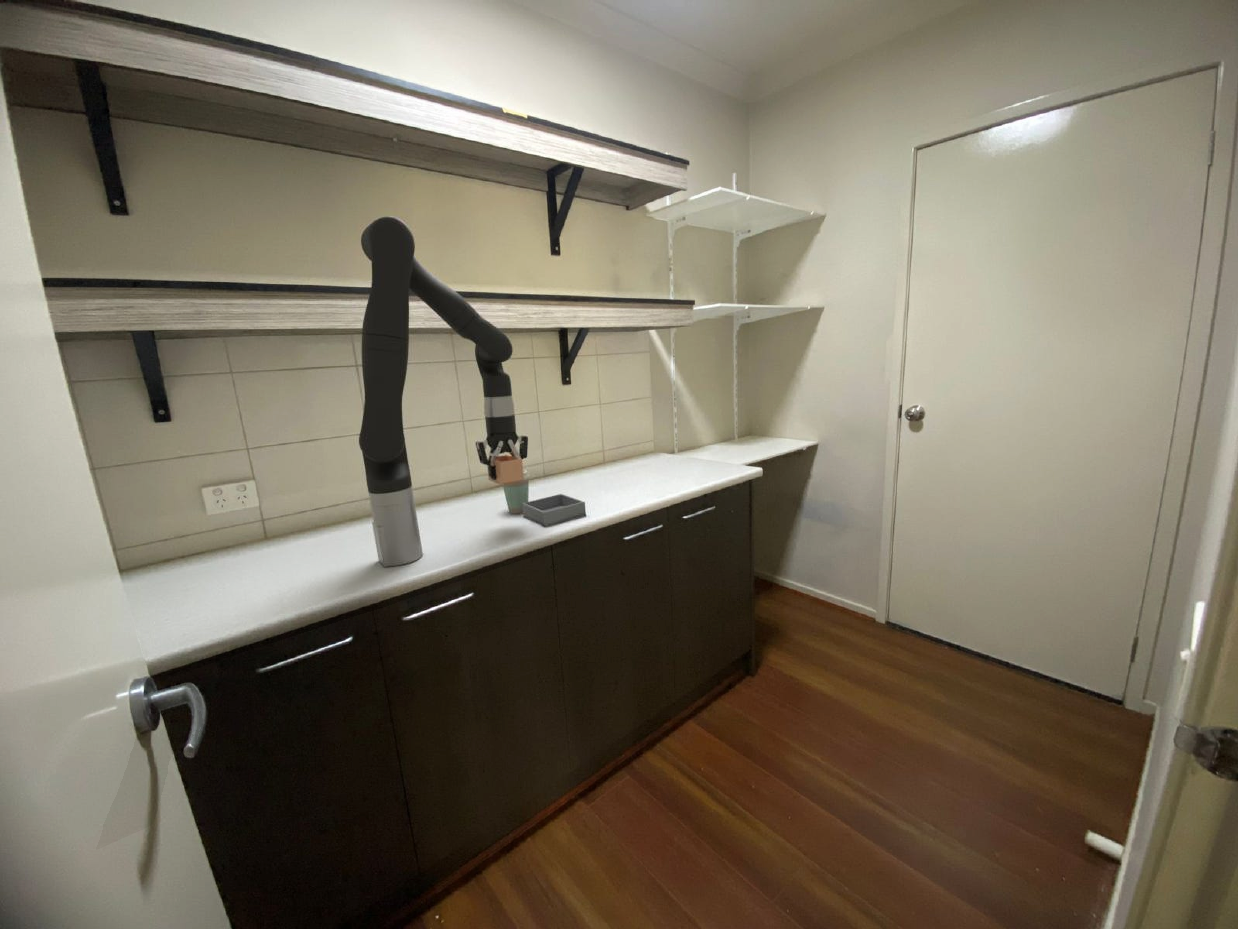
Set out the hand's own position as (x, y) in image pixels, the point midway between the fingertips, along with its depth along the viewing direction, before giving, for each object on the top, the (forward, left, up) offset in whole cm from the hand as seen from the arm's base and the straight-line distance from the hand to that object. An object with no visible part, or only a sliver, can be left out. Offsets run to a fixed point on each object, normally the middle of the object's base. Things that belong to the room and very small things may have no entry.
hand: (505, 477), depth 130 cm
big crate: (+14, +1, -14) cm, 20 cm away
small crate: (0, 0, -1) cm, 1 cm away
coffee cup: (+9, +14, -15) cm, 22 cm away
